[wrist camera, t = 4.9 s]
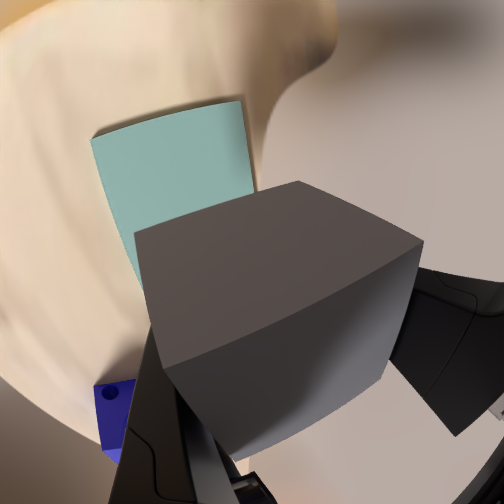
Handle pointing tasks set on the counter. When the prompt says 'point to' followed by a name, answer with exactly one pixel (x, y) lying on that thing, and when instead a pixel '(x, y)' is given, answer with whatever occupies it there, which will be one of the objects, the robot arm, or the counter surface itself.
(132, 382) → the blue arched bracket
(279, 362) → the gray cube block
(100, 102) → the counter surface
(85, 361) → the counter surface
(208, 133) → the teal board
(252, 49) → the counter surface
